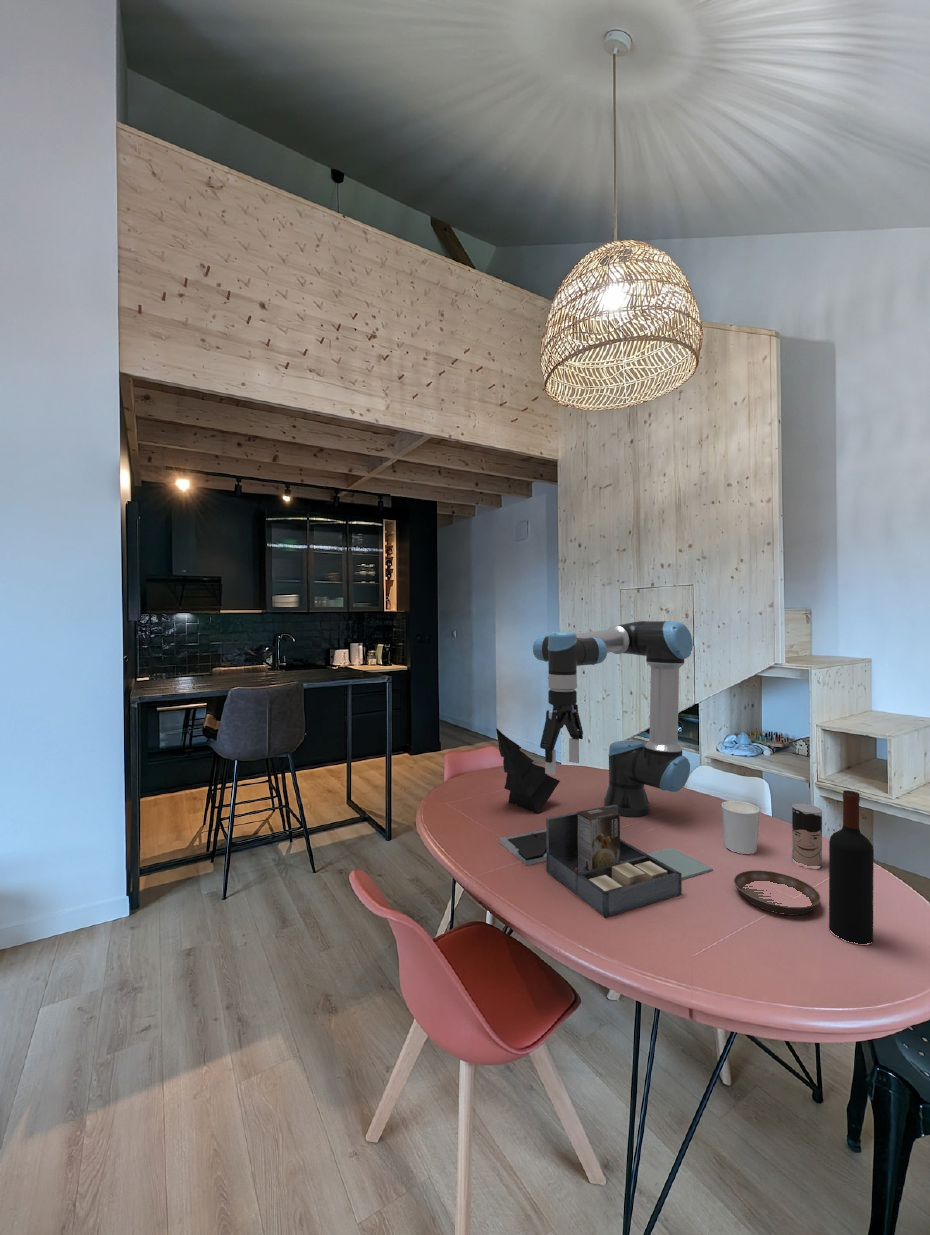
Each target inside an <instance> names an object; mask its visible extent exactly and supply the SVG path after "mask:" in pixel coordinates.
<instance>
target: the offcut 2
mask: <svg viewBox="0 0 930 1235" xmlns="http://www.w3.org/2000/svg"><path fill="white" fill-rule="evenodd" d="M634 867H636V868H638V869H639V870H641V871H643V872H644V873H645V881H647V880H651V879H655V878H658V877H662V876H665V875H667V871H666V870H664V869H662V868H661V867H659V866H657V865H655V864H654V863H652V862H650V861H647V862H644V863H640V864H636V865H634Z"/></svg>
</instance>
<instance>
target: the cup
mask: <svg viewBox="0 0 930 1235" xmlns="http://www.w3.org/2000/svg"><path fill="white" fill-rule="evenodd" d="M791 807H792V808H791V809H792V810H791V811H792V813H791V814H792V815H791V817H792V819H791V820H792V822H791V823H792V824H791V828H792V829H791V834H792V836H791V840H792V842H791V843H792V844H791V848H792V850H791V852H792V853H791V854H792V855H791V859H792V858H793V859H794V860H795V861H796V862H798V863H802V864H804V865H807V866H821V865H822V866H823V810H822V808H820V807H819V806H815V805H812V804H808V803H794V804H792V806H791Z"/></svg>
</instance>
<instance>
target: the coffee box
mask: <svg viewBox="0 0 930 1235" xmlns="http://www.w3.org/2000/svg"><path fill="white" fill-rule="evenodd" d="M620 816H621V815H620V814H618V813H616V812H614V811H612V810H610V809H608V808H606V807H604V806H602V807H597V808H591V809H585V810H581V811H580V810H579V811H577V818H578V866H577V872H579V873H580V872H583V871H587V870H591V869H595V868H599V867H603V866H607V865H611V864H614V863H618V862H621V860H620V839H621V820H620V819H621V817H620Z"/></svg>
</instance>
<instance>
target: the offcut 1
mask: <svg viewBox="0 0 930 1235" xmlns="http://www.w3.org/2000/svg"><path fill="white" fill-rule="evenodd" d="M589 880H590V881H591V882H592V883H594V884H595V885H597V886H598V887H599V888H601V889H602V890H603V891H605V892H609V891H612V890H616V889H619V888H622V886H621V885H620V884H618V883H617V882H615V881H614V880H612V879H611V878H609V877H608V876H606V875H603V876H599V877H595V878H591V879H589Z"/></svg>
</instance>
